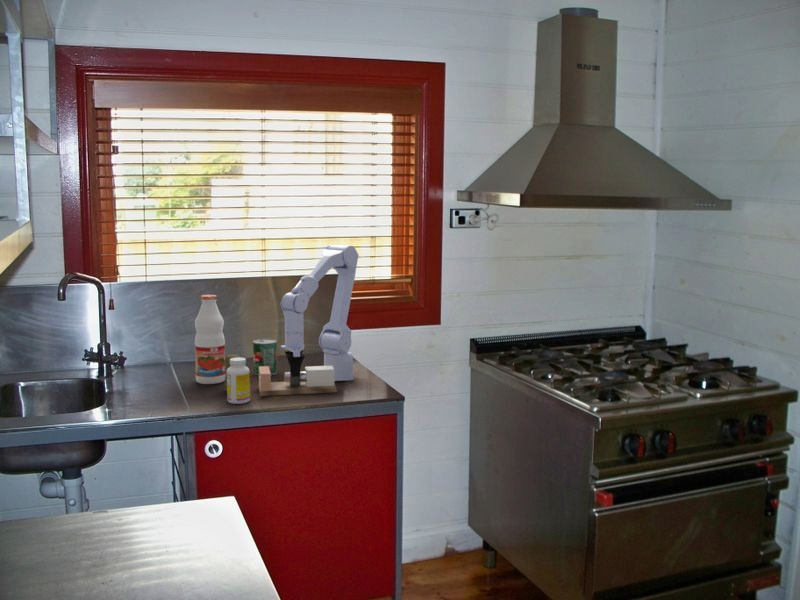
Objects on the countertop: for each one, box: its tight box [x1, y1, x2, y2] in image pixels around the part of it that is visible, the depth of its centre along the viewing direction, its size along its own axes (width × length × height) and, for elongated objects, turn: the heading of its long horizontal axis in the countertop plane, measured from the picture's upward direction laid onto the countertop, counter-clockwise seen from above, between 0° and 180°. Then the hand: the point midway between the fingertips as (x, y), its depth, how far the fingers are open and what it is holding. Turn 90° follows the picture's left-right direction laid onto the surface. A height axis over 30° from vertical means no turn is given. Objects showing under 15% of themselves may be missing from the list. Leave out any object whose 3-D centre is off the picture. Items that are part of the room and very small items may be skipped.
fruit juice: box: [194, 294, 226, 385], centre depth 265 cm, size 9×9×28 cm
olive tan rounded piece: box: [223, 353, 242, 392], centre depth 257 cm, size 6×6×11 cm
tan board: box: [257, 381, 338, 397], centre depth 258 cm, size 23×10×2 cm, turn 103°
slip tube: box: [283, 363, 307, 386], centre depth 258 cm, size 14×4×6 cm, turn 103°
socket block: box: [258, 366, 272, 391], centre depth 255 cm, size 3×10×5 cm, turn 13°
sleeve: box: [304, 365, 335, 387], centre depth 259 cm, size 9×5×5 cm, turn 103°
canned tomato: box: [252, 338, 278, 376], centre depth 278 cm, size 8×8×11 cm
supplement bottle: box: [226, 357, 251, 405], centre depth 243 cm, size 7×7×13 cm
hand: (294, 374), depth 257 cm, fingers closed on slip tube, 4 cm apart
